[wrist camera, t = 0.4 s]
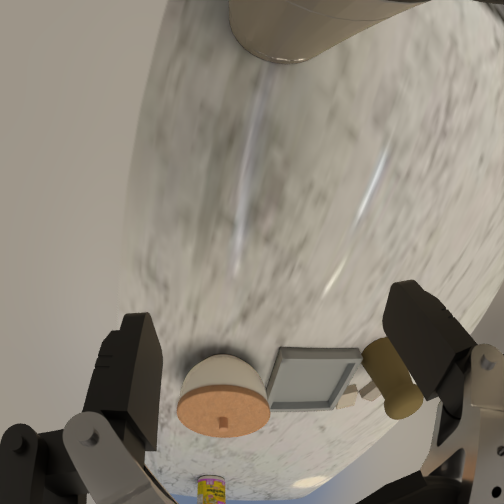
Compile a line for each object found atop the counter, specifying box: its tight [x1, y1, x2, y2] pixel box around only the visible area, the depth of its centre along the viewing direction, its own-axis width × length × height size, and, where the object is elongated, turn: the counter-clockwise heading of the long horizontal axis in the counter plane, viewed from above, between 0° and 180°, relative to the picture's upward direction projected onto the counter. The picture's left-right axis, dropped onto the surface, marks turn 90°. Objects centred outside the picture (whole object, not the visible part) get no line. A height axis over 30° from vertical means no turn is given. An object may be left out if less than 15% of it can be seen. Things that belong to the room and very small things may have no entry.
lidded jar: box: [177, 354, 270, 438], centre depth 33 cm, size 11×11×9 cm
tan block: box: [336, 384, 358, 409], centre depth 41 cm, size 4×3×2 cm
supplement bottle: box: [197, 475, 225, 504], centre depth 51 cm, size 7×7×13 cm
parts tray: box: [266, 347, 363, 412], centre depth 38 cm, size 12×11×2 cm
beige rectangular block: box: [359, 381, 381, 401], centre depth 41 cm, size 4×3×2 cm
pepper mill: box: [361, 337, 424, 420], centre depth 33 cm, size 6×6×11 cm
